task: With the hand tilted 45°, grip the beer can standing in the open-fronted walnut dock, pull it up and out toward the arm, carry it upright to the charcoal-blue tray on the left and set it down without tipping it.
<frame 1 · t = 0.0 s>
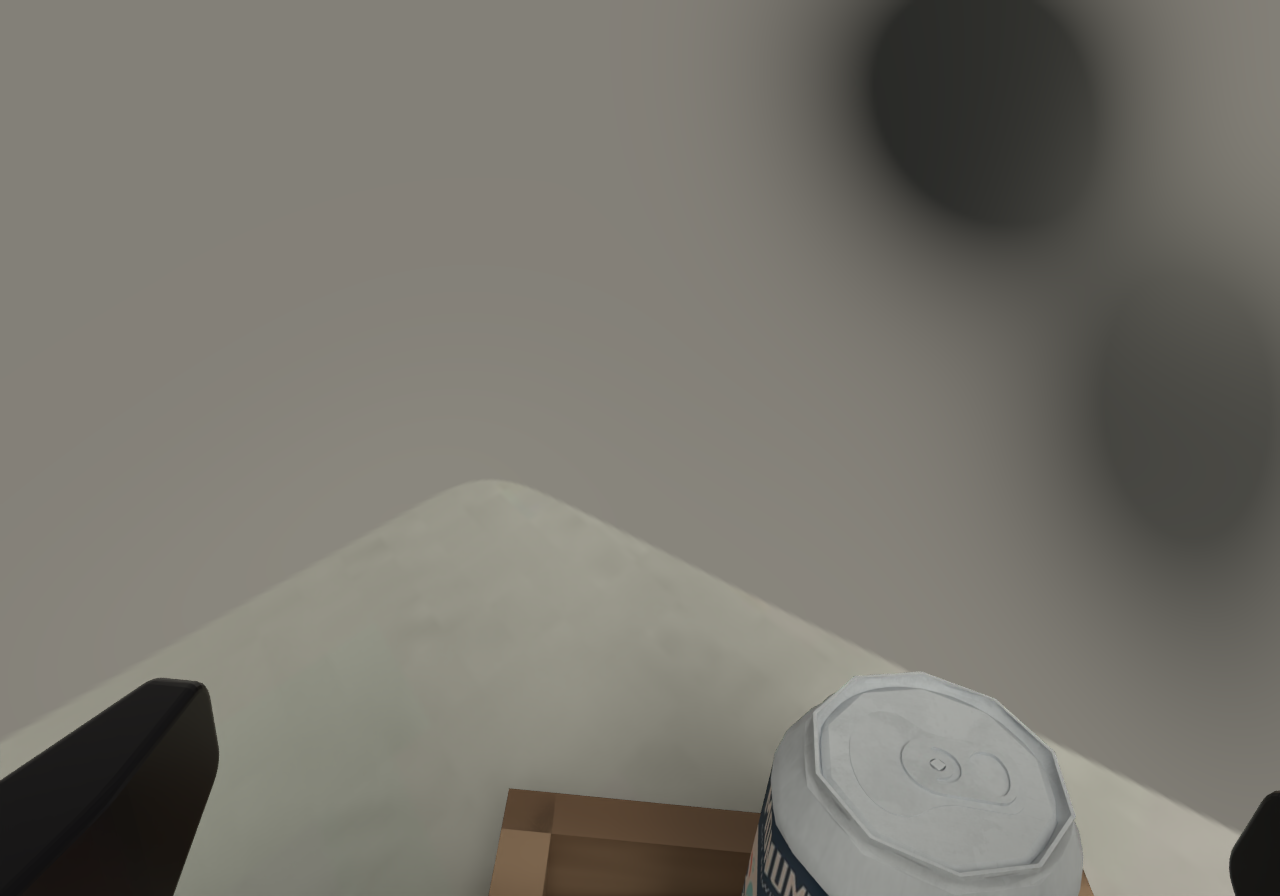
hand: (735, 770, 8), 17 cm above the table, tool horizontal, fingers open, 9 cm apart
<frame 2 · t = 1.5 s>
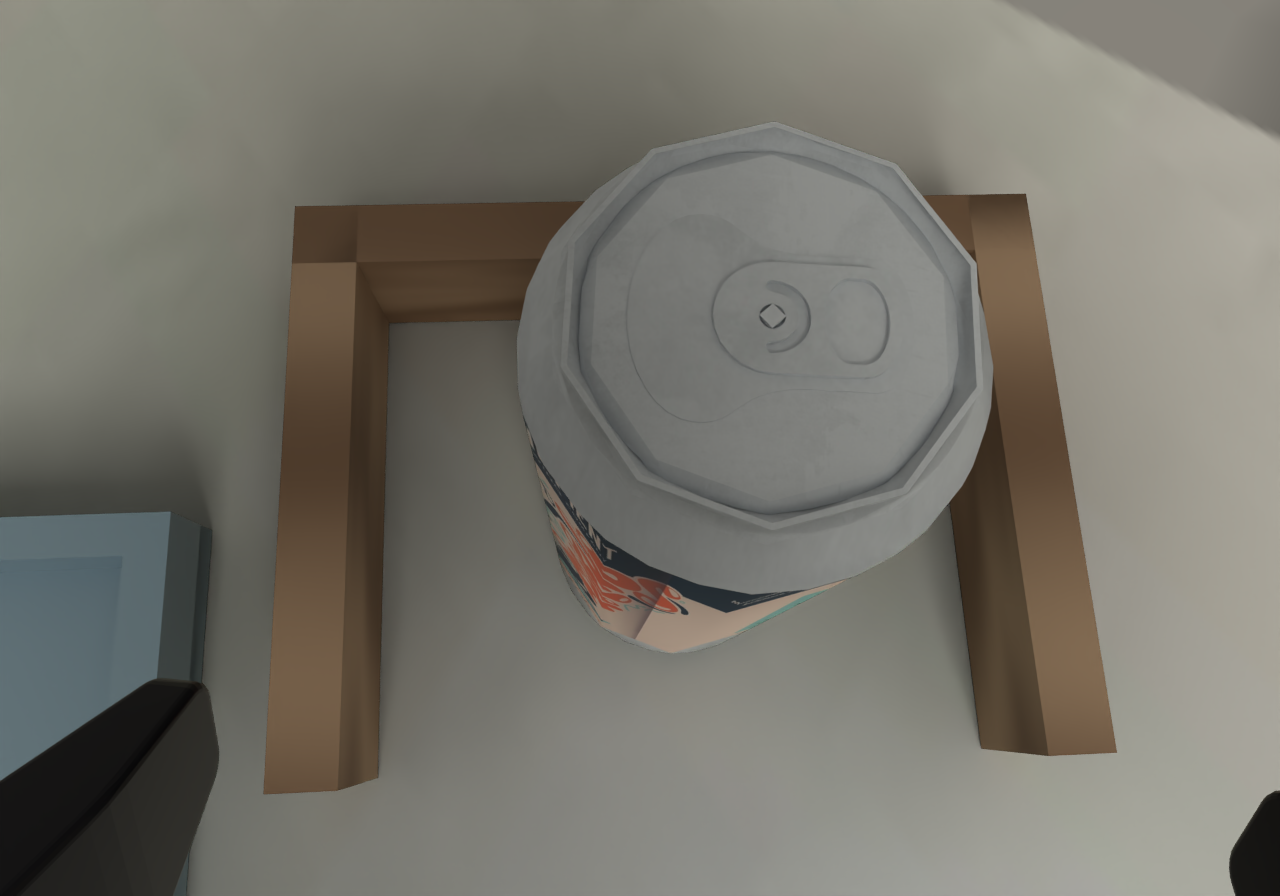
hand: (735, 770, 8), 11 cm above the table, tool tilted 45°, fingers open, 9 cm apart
dock: (672, 538, 20), on the table
beer can: (671, 539, 20), on the table
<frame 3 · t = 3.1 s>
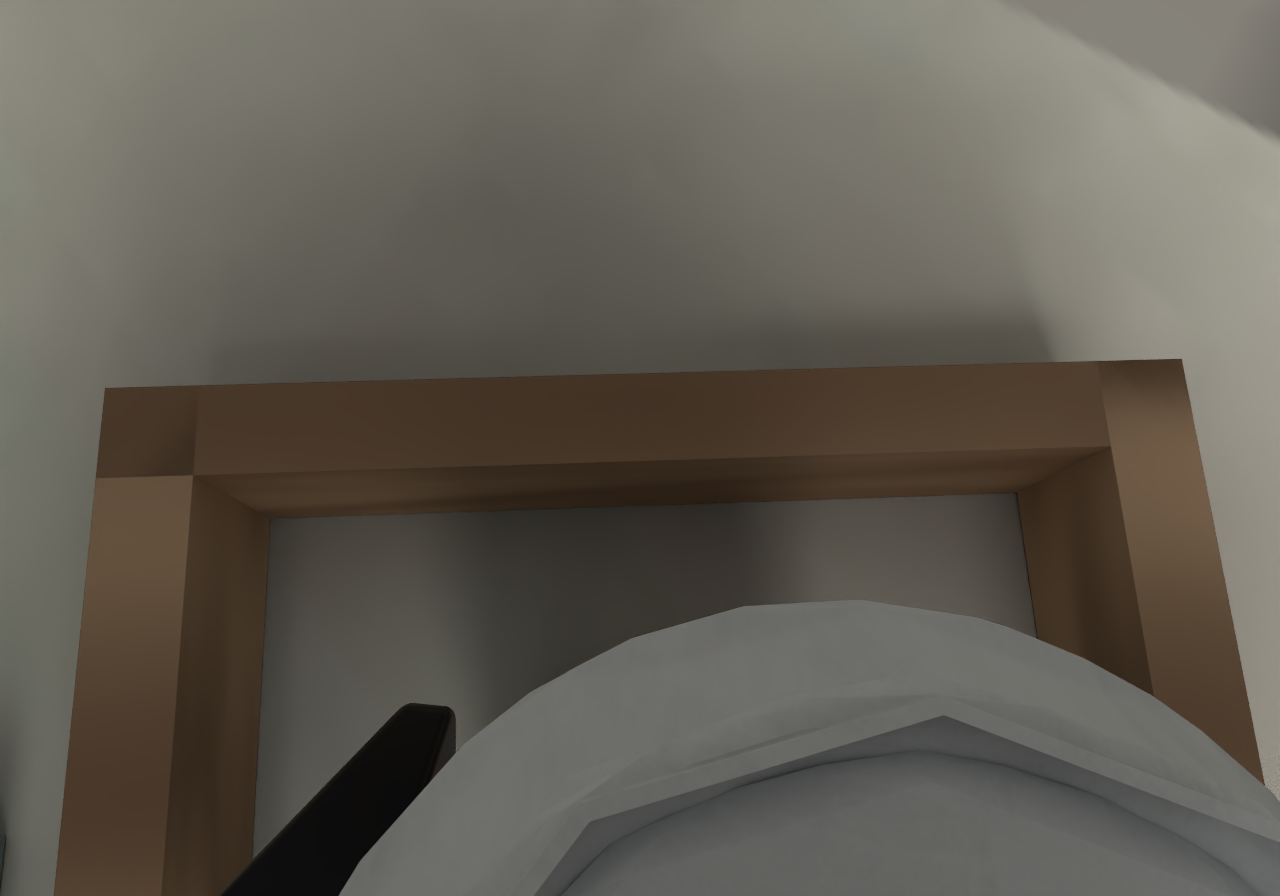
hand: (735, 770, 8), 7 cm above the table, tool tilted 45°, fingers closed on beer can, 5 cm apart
dock: (666, 838, 14), on the table
beer can: (665, 836, 14), on the table, touching gripper
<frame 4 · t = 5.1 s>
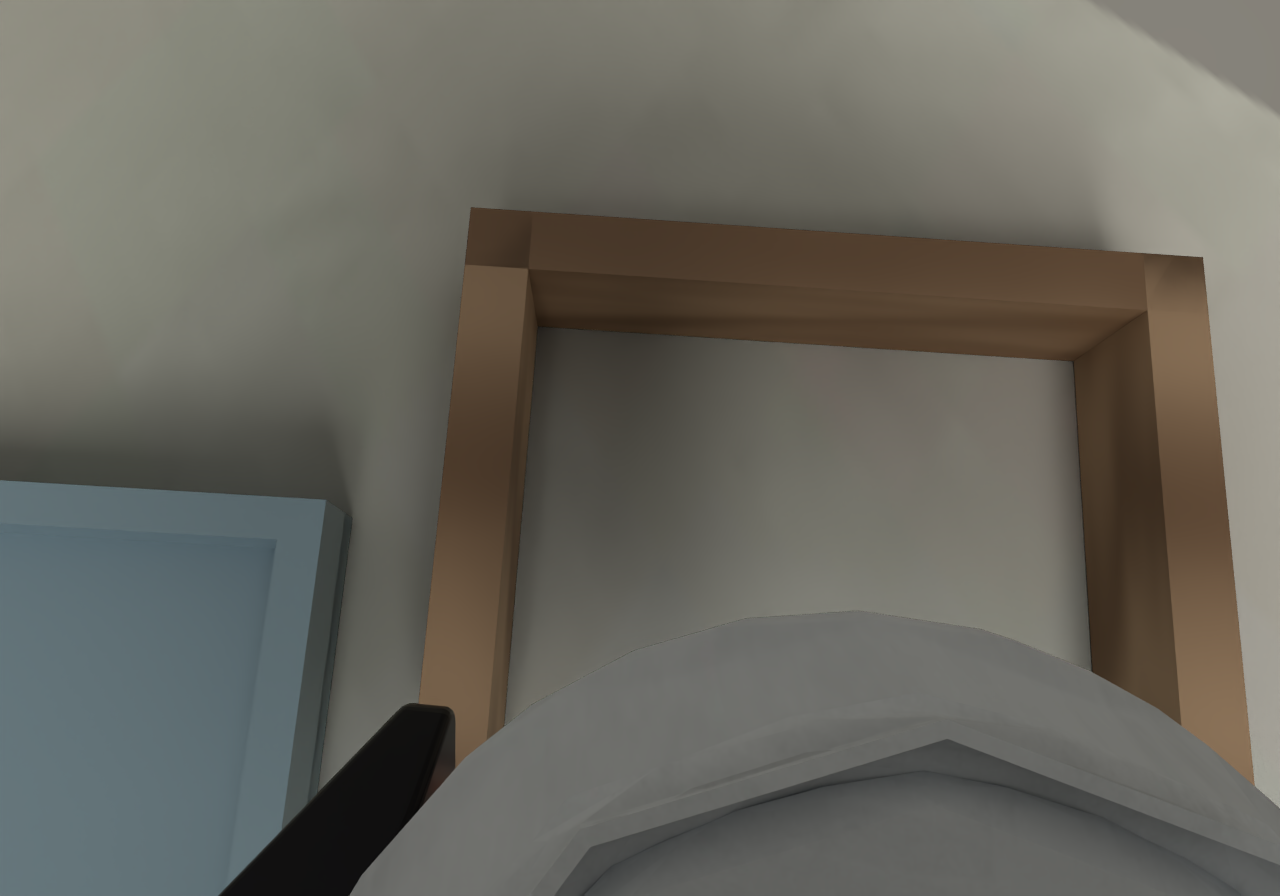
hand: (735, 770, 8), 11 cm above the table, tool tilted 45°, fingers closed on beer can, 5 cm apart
dock: (805, 568, 20), on the table
beer can: (669, 823, 15), point 5 cm above the table, touching gripper
when the fingers open (8 cm above the table, at t = 7.3 s): beer can stays where it is, resting on tray.
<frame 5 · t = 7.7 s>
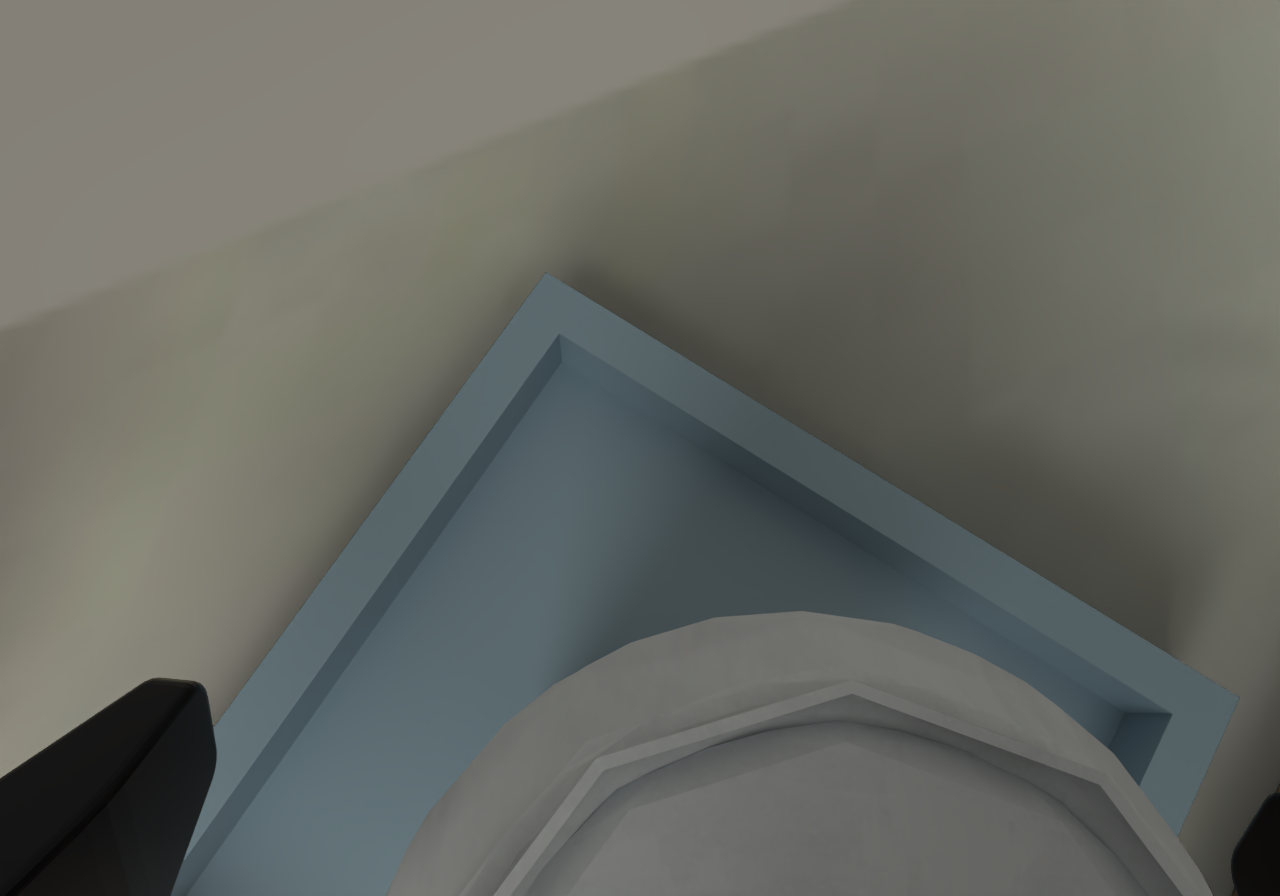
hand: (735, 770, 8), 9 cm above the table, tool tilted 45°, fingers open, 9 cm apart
beer can: (660, 826, 16), resting on tray
tray: (658, 820, 16), on the table
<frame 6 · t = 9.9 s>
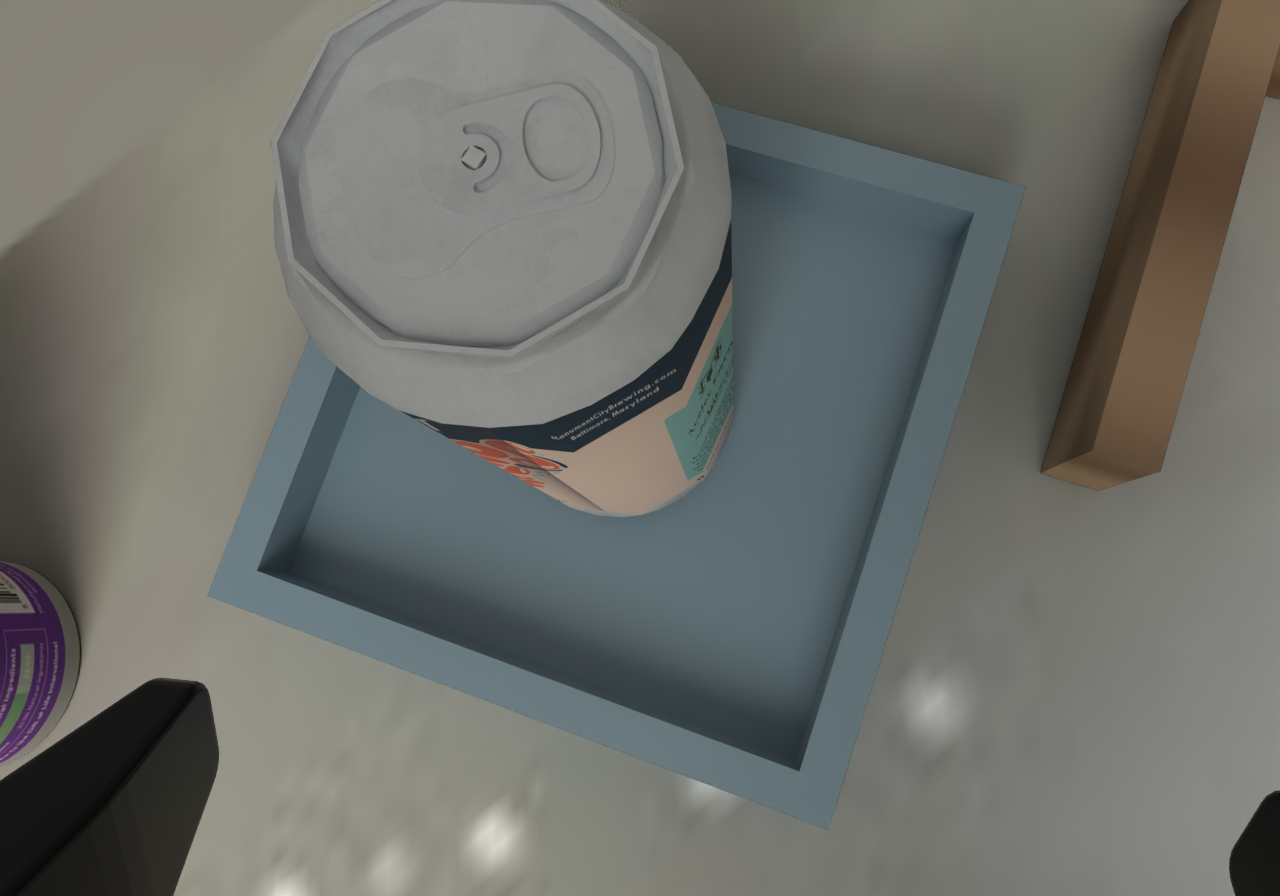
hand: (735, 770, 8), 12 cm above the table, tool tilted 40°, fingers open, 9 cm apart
beer can: (623, 410, 21), resting on tray
tray: (624, 412, 21), on the table
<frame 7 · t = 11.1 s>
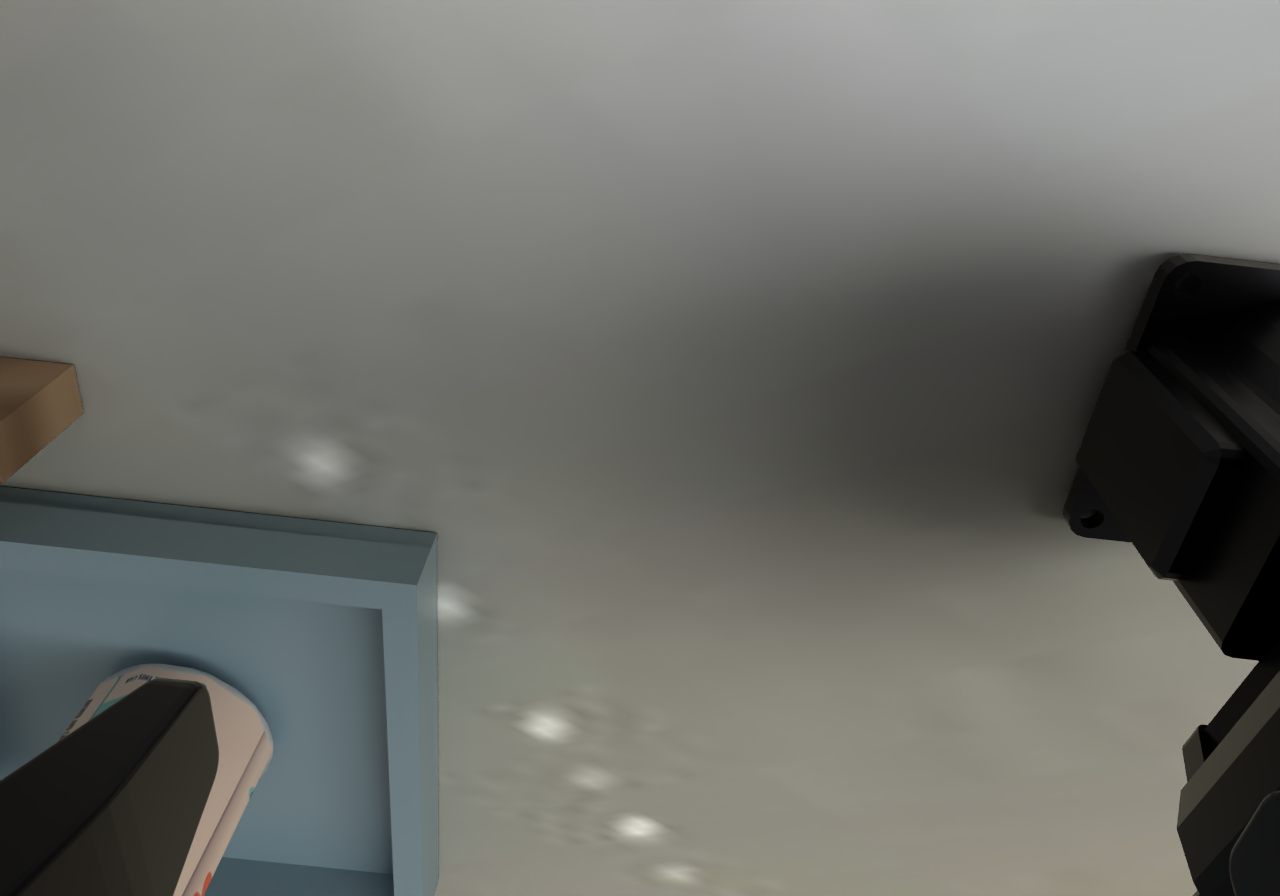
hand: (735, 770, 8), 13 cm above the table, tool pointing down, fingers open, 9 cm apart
beer can: (194, 712, 26), resting on tray
tray: (199, 701, 26), on the table
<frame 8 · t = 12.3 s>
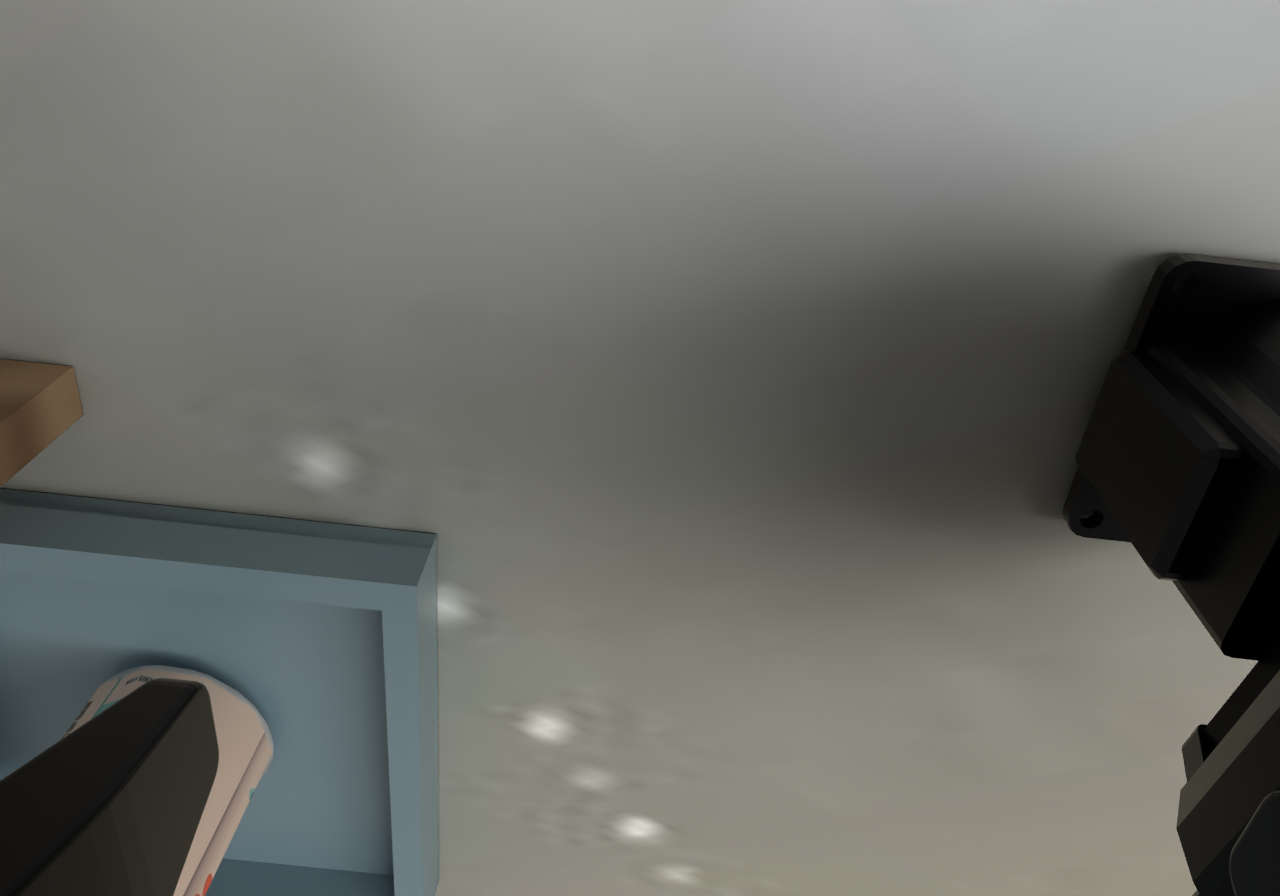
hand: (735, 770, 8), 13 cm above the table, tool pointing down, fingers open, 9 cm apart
beer can: (194, 713, 26), resting on tray
tray: (200, 703, 26), on the table
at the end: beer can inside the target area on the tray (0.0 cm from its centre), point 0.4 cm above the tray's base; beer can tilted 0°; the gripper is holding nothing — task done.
